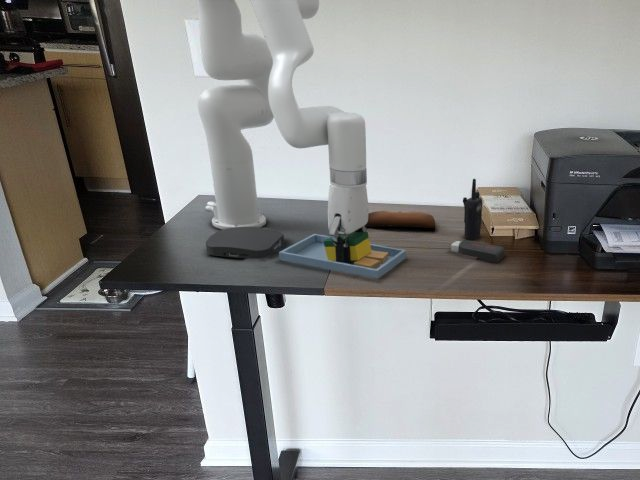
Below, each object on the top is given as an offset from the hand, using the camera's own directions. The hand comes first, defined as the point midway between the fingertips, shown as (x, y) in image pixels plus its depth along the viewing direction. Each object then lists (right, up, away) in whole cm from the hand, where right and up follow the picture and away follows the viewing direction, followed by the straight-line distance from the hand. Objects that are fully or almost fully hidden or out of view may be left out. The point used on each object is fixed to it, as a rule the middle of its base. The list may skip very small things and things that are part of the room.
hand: (351, 257), depth 149 cm
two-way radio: (+25, +9, +22) cm, 35 cm away
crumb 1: (+4, -3, -3) cm, 6 cm away
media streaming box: (-25, +3, +4) cm, 25 cm away
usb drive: (+27, +2, +11) cm, 29 cm away
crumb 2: (+5, 0, +1) cm, 6 cm away
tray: (-2, -1, +1) cm, 2 cm away
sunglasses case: (+7, +12, +25) cm, 29 cm away
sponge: (0, 0, 0) cm, 0 cm away
